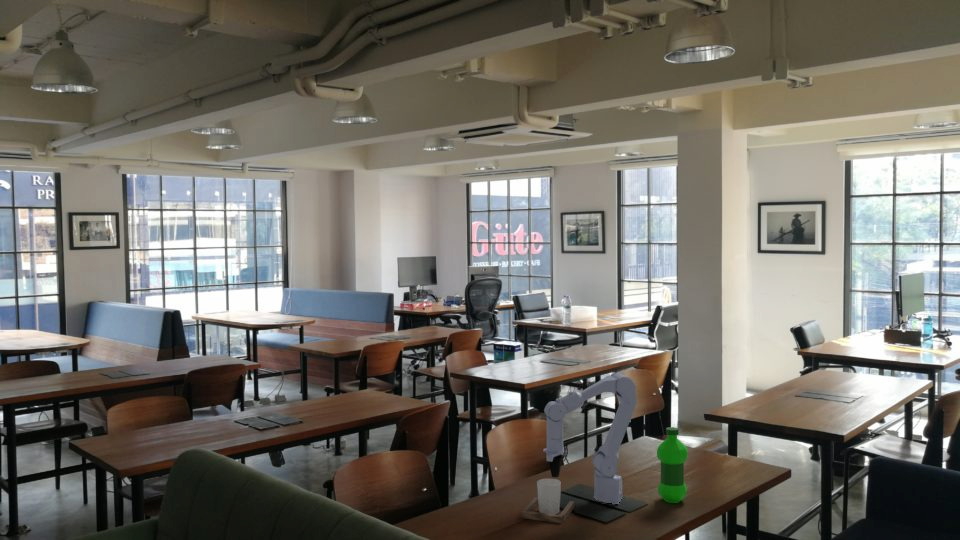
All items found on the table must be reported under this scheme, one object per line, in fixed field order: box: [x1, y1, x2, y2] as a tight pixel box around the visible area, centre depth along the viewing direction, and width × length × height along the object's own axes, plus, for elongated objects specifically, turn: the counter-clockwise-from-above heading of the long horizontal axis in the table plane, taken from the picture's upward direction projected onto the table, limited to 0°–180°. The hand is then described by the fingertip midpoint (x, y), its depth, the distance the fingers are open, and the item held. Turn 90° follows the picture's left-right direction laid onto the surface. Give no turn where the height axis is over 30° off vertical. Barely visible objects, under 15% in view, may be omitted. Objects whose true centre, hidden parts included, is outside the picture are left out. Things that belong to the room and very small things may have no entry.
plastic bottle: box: [656, 426, 689, 504], centre depth 266 cm, size 10×10×25 cm
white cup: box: [536, 478, 562, 515], centre depth 258 cm, size 8×8×10 cm
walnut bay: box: [521, 496, 576, 524], centre depth 257 cm, size 14×16×2 cm
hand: (555, 476), depth 265 cm, fingers closed
